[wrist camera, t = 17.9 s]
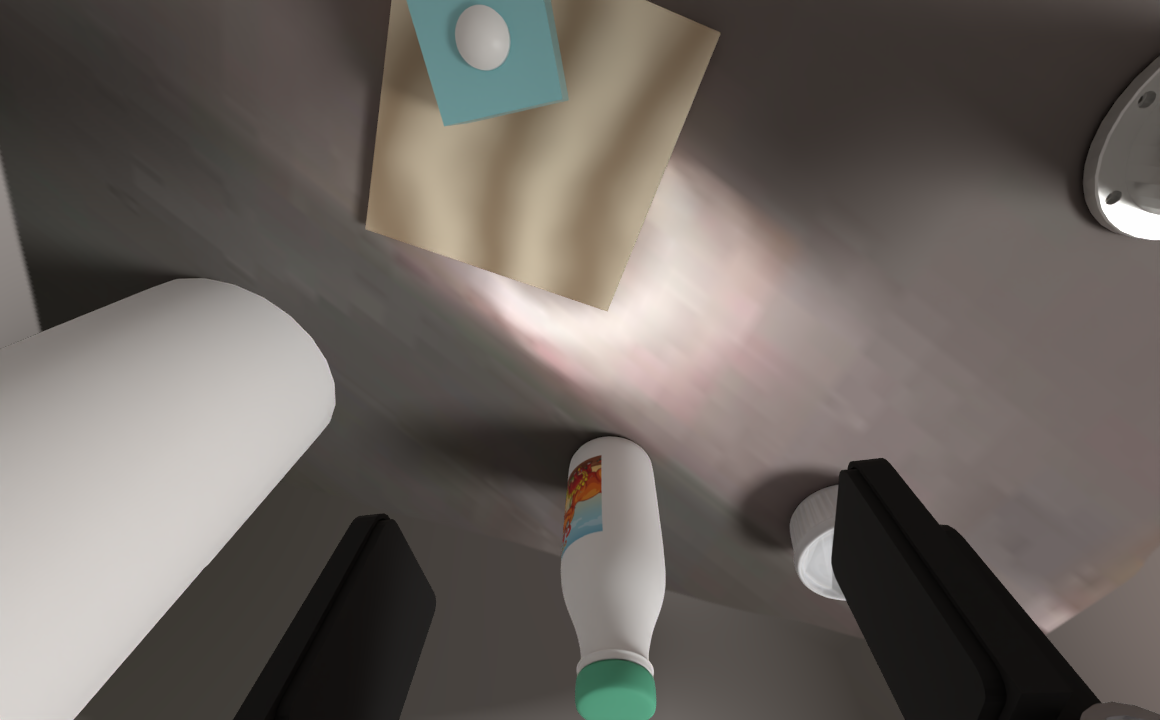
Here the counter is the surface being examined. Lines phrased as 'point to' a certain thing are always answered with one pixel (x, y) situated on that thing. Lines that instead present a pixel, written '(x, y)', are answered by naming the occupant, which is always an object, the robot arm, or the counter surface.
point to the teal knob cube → (489, 56)
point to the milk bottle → (613, 576)
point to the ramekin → (816, 542)
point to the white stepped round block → (136, 471)
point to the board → (541, 151)
